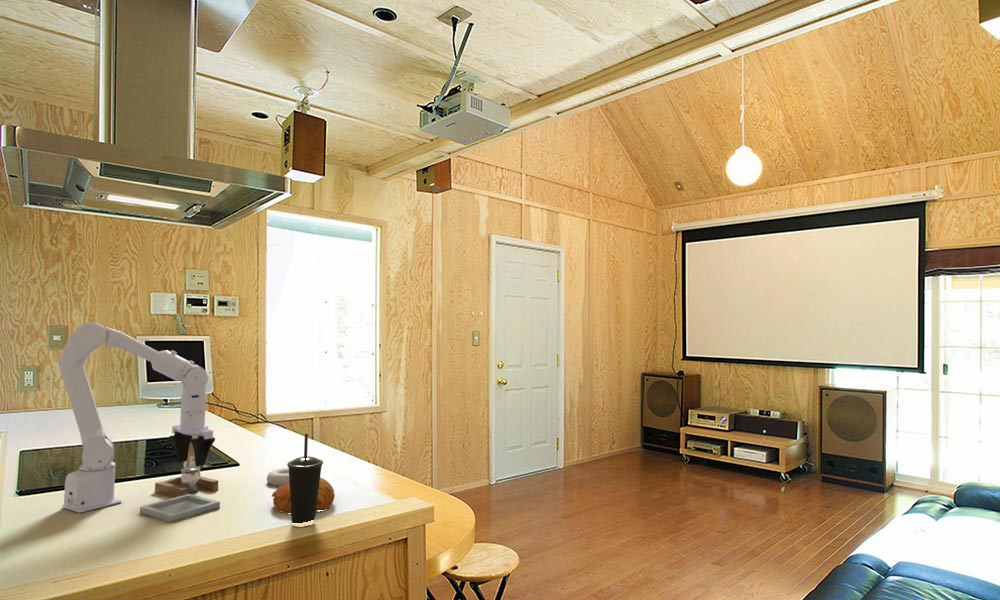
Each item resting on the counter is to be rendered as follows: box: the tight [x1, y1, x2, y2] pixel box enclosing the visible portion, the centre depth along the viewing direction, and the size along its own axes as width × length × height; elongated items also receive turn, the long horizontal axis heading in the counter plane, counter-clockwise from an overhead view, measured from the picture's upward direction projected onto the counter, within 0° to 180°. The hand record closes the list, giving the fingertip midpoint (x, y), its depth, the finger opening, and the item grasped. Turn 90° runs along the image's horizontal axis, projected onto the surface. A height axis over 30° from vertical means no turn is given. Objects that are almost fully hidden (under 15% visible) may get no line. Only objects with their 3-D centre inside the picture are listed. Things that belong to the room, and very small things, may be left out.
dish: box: [139, 494, 221, 524], centre depth 136 cm, size 12×12×2 cm
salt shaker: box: [180, 467, 201, 495], centre depth 150 cm, size 4×4×6 cm
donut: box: [266, 467, 289, 487], centre depth 161 cm, size 10×4×10 cm
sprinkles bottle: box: [183, 436, 202, 476], centre depth 165 cm, size 5×5×13 cm
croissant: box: [271, 477, 336, 514], centre depth 141 cm, size 14×16×8 cm
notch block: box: [154, 475, 219, 498], centre depth 151 cm, size 10×12×2 cm
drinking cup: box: [286, 433, 324, 524], centre depth 129 cm, size 8×8×20 cm
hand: (191, 463), depth 150 cm, fingers open, 7 cm apart
